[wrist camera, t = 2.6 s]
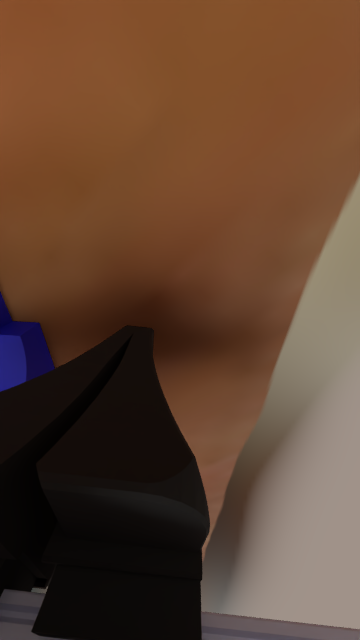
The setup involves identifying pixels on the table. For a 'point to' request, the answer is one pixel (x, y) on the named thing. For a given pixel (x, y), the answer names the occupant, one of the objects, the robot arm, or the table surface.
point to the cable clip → (21, 350)
